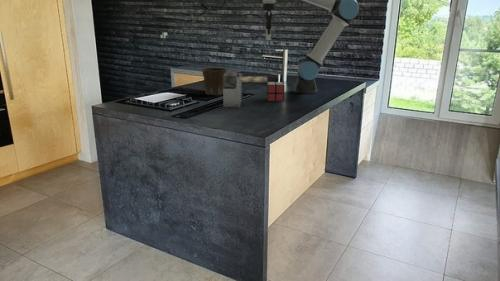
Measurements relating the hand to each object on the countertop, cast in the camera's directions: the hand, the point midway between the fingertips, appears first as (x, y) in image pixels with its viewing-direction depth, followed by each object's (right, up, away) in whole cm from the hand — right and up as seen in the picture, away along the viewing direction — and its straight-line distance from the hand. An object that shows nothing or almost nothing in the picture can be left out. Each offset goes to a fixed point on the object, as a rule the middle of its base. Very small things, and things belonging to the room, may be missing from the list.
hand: (268, 39), depth 243 cm
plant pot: (-34, -32, +13) cm, 49 cm away
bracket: (-21, -41, -13) cm, 48 cm away
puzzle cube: (+4, -38, -3) cm, 38 cm away
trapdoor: (-14, -30, -17) cm, 37 cm away
